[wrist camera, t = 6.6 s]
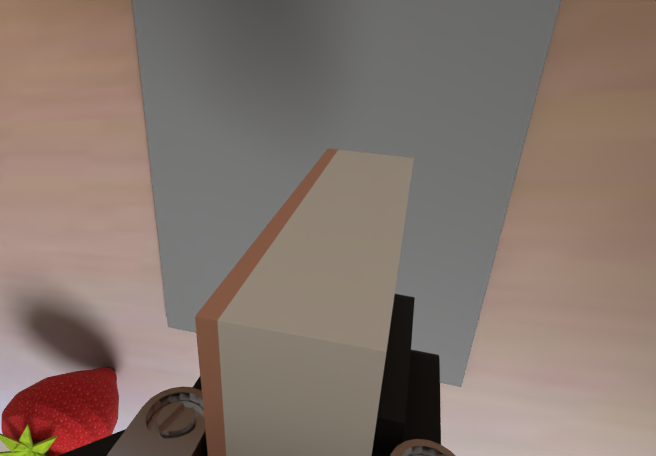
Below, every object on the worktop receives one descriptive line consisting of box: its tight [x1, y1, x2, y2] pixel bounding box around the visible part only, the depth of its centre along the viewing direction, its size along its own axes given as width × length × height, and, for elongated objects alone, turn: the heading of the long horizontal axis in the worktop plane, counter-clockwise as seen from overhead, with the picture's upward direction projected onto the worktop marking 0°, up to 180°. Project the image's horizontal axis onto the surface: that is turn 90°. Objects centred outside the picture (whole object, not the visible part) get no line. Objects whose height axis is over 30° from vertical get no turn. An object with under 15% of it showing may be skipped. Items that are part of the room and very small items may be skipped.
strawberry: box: [0, 368, 119, 456], centre depth 31 cm, size 6×8×10 cm
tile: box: [195, 148, 414, 456], centre depth 11 cm, size 2×8×8 cm, turn 177°
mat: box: [132, 0, 561, 387], centre depth 24 cm, size 20×26×1 cm
